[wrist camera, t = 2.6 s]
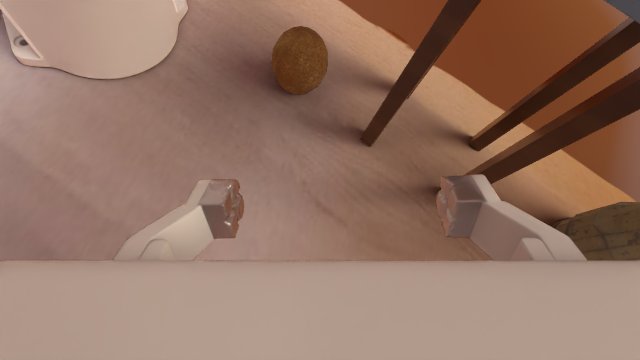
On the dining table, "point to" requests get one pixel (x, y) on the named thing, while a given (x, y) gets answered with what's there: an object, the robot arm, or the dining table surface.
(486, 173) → the crate stand
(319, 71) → the fruit
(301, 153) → the dining table surface
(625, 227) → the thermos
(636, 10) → the egg holder
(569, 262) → the robot arm
